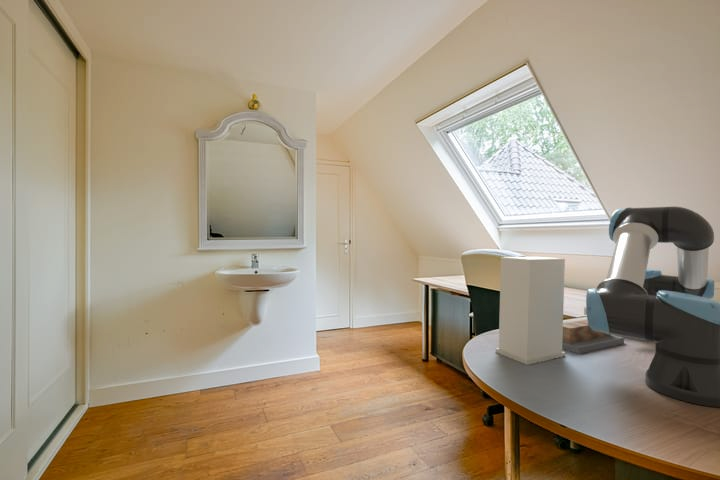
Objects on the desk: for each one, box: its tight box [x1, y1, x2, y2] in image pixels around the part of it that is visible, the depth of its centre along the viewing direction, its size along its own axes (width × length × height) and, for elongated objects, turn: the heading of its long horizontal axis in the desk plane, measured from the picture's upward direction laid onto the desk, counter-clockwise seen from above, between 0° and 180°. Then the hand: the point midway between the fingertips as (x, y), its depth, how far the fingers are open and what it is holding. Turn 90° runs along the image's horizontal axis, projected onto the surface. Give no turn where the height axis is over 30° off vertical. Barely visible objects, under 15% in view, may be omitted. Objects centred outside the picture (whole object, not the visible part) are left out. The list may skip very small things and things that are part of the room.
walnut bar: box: [562, 319, 611, 344], centre depth 116 cm, size 24×5×5 cm, turn 116°
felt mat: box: [562, 334, 625, 355], centre depth 116 cm, size 26×12×2 cm, turn 116°
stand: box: [495, 256, 566, 366], centre depth 104 cm, size 17×11×30 cm, turn 116°
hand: (604, 315), depth 122 cm, fingers open, 13 cm apart
